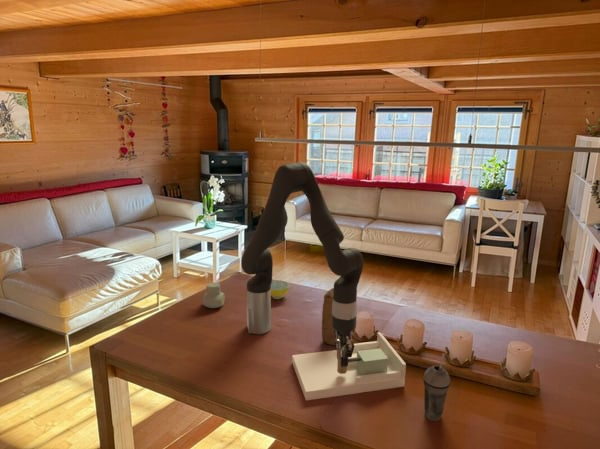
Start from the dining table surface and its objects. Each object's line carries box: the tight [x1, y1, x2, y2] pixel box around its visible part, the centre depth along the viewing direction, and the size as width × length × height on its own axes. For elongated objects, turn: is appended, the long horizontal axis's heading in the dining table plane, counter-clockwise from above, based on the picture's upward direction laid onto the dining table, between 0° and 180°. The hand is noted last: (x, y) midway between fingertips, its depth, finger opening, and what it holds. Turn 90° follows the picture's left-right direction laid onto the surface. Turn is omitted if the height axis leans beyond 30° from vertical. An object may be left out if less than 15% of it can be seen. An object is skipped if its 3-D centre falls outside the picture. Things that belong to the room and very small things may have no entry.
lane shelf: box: [291, 332, 407, 401], centre depth 138 cm, size 32×20×8 cm, turn 103°
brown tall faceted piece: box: [321, 287, 337, 346], centre depth 158 cm, size 11×8×20 cm
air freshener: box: [202, 281, 226, 309], centre depth 186 cm, size 11×8×10 cm
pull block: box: [337, 347, 388, 375], centre depth 133 cm, size 16×6×10 cm, turn 103°
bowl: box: [271, 279, 290, 300], centre depth 196 cm, size 11×12×6 cm
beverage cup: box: [422, 352, 451, 422], centre depth 118 cm, size 7×7×20 cm
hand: (342, 362), depth 132 cm, fingers closed on pull block, 3 cm apart
